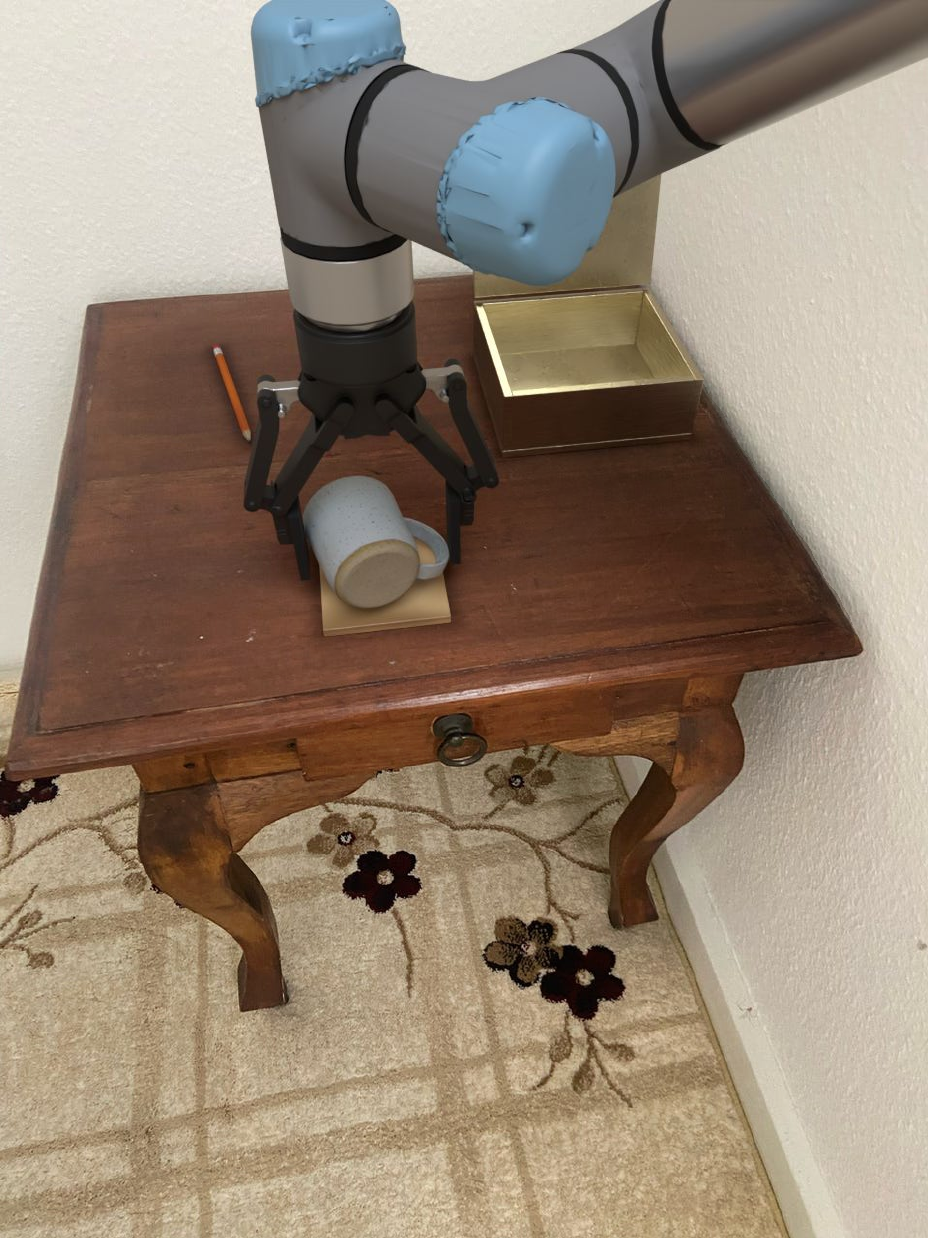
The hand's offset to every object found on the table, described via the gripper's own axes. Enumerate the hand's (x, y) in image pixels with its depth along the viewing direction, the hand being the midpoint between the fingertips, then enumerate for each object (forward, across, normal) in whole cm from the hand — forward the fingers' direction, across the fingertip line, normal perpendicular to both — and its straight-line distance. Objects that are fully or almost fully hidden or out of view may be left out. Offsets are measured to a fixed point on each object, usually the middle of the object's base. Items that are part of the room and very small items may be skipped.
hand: (380, 560), depth 70 cm
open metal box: (+3, -22, -24) cm, 33 cm away
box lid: (-14, -22, -34) cm, 43 cm away
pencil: (+3, +13, -30) cm, 33 cm away
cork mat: (+3, 0, 0) cm, 3 cm away
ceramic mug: (+1, 0, 0) cm, 1 cm away
